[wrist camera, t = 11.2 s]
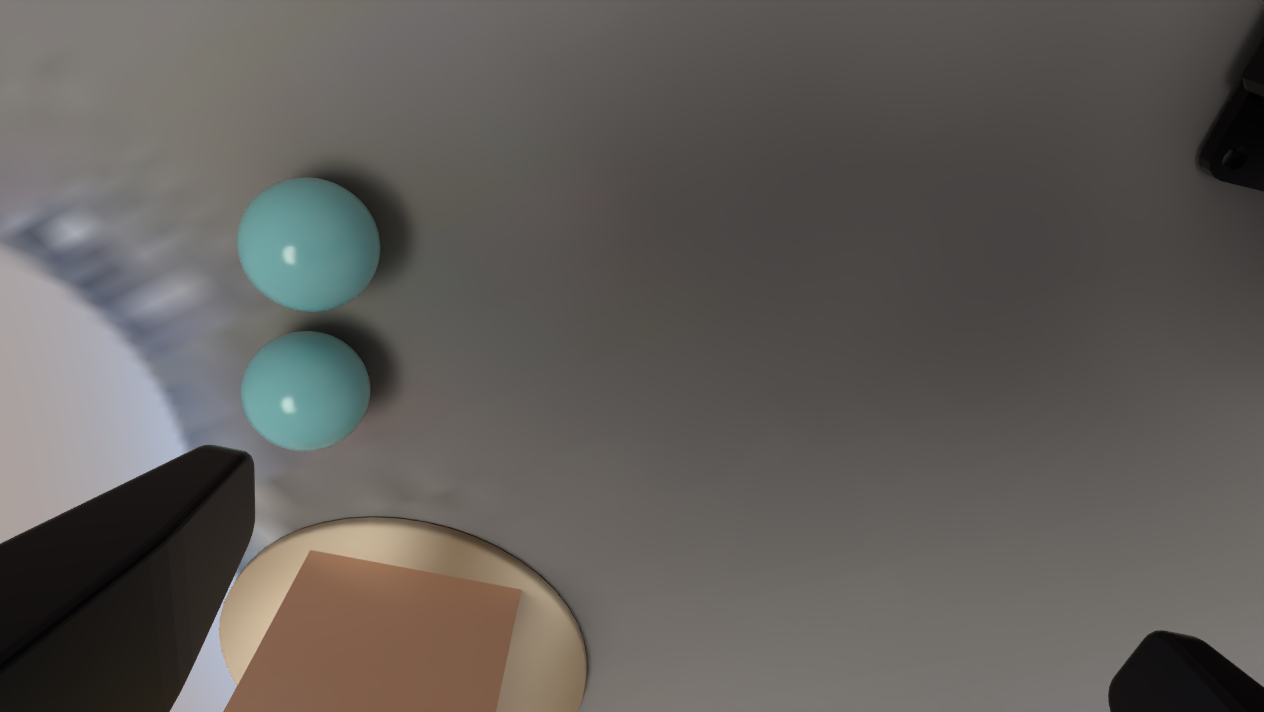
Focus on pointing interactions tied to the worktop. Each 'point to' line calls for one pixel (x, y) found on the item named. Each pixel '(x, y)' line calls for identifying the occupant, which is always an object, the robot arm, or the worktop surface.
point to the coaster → (544, 626)
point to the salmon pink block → (380, 642)
